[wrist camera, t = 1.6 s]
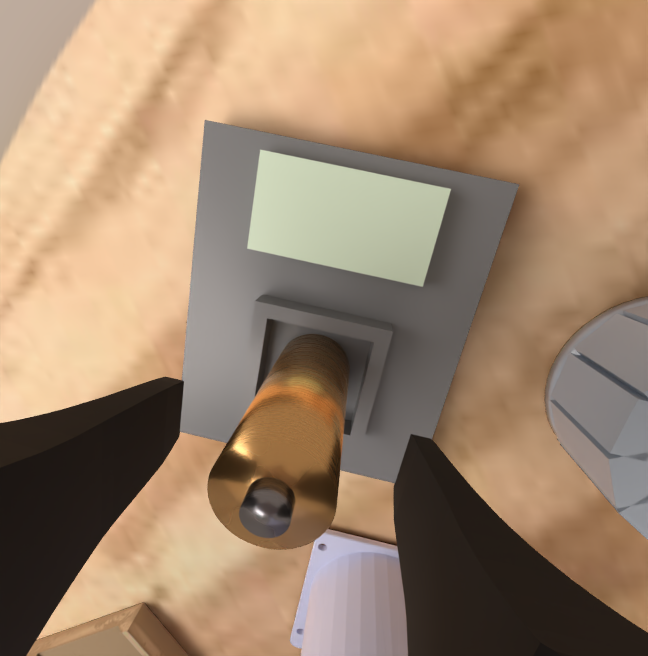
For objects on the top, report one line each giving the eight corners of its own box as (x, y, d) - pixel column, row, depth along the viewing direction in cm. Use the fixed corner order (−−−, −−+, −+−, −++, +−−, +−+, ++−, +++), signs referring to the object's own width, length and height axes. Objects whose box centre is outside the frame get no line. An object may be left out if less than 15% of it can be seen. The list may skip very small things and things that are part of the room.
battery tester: (411, 468, 19) (418, 506, 17) (190, 415, 20) (165, 445, 17) (504, 187, 15) (533, 181, 12) (219, 128, 15) (190, 111, 13)
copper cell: (341, 406, 17) (319, 584, 9) (273, 390, 17) (191, 552, 9) (356, 342, 16) (348, 476, 8) (285, 326, 16) (204, 442, 8)
